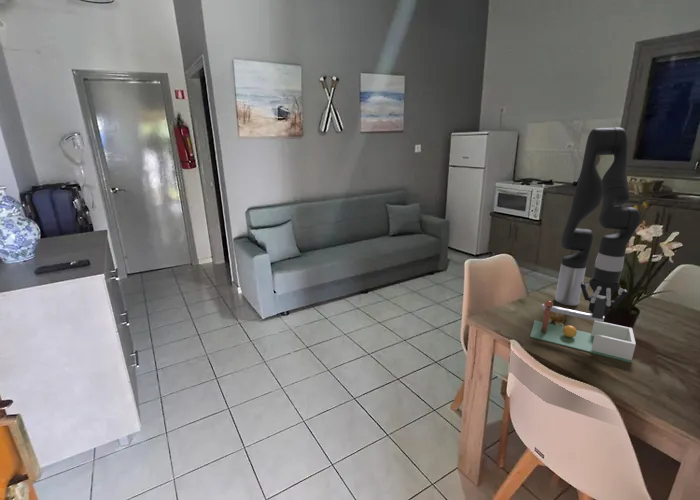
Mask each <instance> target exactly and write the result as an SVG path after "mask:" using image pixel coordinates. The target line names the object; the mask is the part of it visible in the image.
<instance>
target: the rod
mask: <svg viewBox="0 0 700 500" xmlns="http://www.w3.org/2000/svg"><path fill="white" fill-rule="evenodd" d="M606 303H607V300H606V296H604V295H598V296H597V298H596V300H595V305H594V310H593V313H588V312H583V311H579V310H575V309H569V308H565V307H560V306H557V305H556V306H555V305H554V302H553V301H551V300H545V302H544V303H542V304H541V310H544V314H543V317H544V319H543V318H542V319H543V321H542V322H543V325H542V330H541V332H545V333H546V331H547V326H548V323H549V322H548V320H549V315H550V313H551V312H556V313H561V314H565V316H571V317H576V318H581V319H584V320H590V321H593V322H594V321H598V322H605V321H604V320H605V316H604V311H605V307H606Z"/></svg>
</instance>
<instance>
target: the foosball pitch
mask: <svg viewBox="0 0 700 500" xmlns="http://www.w3.org/2000/svg"><path fill="white" fill-rule="evenodd" d="M542 325H543V321H539V320H535V319H534V321H533V326H532V328H531V332H530V335H529V337H530V339H531V338H532V339H534V340H535V339H536V340H539V341H544V342H547V343H552V344H556V345H559V346H564V347H566V348H567V347H568V348H571V349H576V350H579V351H582V352H587V353H591V354H594V355H599V356H602V357H606V358H611V359H615V360H618V361H622V362H626V363H630V364H632V363H633V361H632V360H633V356H634V353H635V349H636V345H637V344H636V339H635V335H634V331H633V327H630V326H629V327H628V326H623V325H619V324H614V323H610V322H605V321H603V322H598V321H594V320H593V325H592V330H591V332H588V331H587V332H586V331H584V330H583V331H582V330H577V329H576V330H577V334H576V336H574V337H572V338H569V337H566V336H565V335H564V334H563V328H564V326H563V327H562V325H558V326H557V325H556V324H552V323H549V322H548V326H547V331H546V333H545V332H541V330H542Z"/></svg>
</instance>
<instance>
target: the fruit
mask: <svg viewBox="0 0 700 500" xmlns="http://www.w3.org/2000/svg"><path fill="white" fill-rule="evenodd" d="M566 316H567V315H566V314H561V313H556V312H552V311H550V315H549V320H548V323H549V324H551V323H552V322H554V323H555V324H554V325H557V326H562V327H565V326H566V325H565V324H564V323H566V321H567V317H566ZM542 319H544V316H543V318H542Z"/></svg>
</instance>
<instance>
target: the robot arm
mask: <svg viewBox="0 0 700 500" xmlns="http://www.w3.org/2000/svg"><path fill="white" fill-rule="evenodd" d="M583 154H584V155H583V159H582V165H581V170H580V174H579V177H578V179H577V180H578V181H577V185H576V187H575V190H574V195H573V198H572V203H571V207H570V212H569V214H568V215H569V216H568V219H567V221H566V223H565V227H564V229H563V231H562V234H561V235H562V236H561V240H560V241H561V243H560V244H561V247H562V248H563V249H565V250H569V251H577V252H574V253H572V254H569V255H564V256H563V257H562V259H561V261H560V262H561V263H560V269H559V274H558V278H557V279H558V280H557V286H556V289H555V290H556V291H555V296H554V300H555V301H556V302H557V303H559V304H562V305H565V306H569V307H570V306H572V307H573V306H579V304H580V299H581V294H582V295H583V298H584V301H588V302H589V303H588V304H589V305H588V311H589V312H590V314H592V313H593V310H594V305H595V300H596V298H597V296H598V295H601V296H606V300H607V303H606V307H605V311H604V315H603V316H604V317H605V316H606V315H609V313H610V309H611V307H612V306H614V307H617V306H618V305H619V304H620V303H621V302H622V301H623V300H624V299H625V298H626V297H627V296H628V290H627V289H626V288H622V287H621V286H620V279H621V275H622V273H623V269H624V263H625V256H626V252H627V247H628V244H629V242H630V240H631V238H632V237H633V234H634V233H635V232H636V230H637V228H638V227H639V225H640V223H641V219H642V215H641V212H640V211H639V209H637V208H636V207H634V206H633V207H632V206H631V207H629V206H627V207H625V206H622V205H623V204H626V203H628V202H629V200H630V198H631V197H630V189H629V183H628V177H627V176H628V175H627V166H628V134H627V130H625V128H623V127H599V128H598V127H596V128H593V129H591V130H590V132H589V134H588V136H587V139H586V144H585V148H584V153H583ZM597 156H613V158H614V159H613V162H612V163H611V165H610V167H609V168H608V169H607V170H606V172H605V173H604V175H603V177H601V176H600V174H599V172H598V170H597V169H598V168H597V166H596V159H597V158H596V157H597ZM601 202H602V204H601ZM600 205H601V210H600V214H599V216H598V217H599V218H598V222H599V224H600V226H601V227H603V228H604V229H611V230H618V231H617V232H615V233H612V234H606V235H603V236H601V239H600V243H599V247H598V253H597V256H596V259H595V262H594V267H593V272H592V277H591V279H590V280H589V281H588V282H587V281H586V282H584V279H585V275H586V269H587V265H588V261H589V257H590V252H591V249H592V246H593V243H594V232H593V230H591V229H589V228H579V227H578V226H579V224H580V223H581V222H583V220H584V219H585V218H586V217H588V216H589V215H590V214H592V213H593V212H594V211H595V210H596V209H597V208H598V207H599V206H600ZM577 227H578V228H577ZM589 286H590V288H591V289H592V291H593V292H592V294H591V296H590V295H589V293H588V289H589ZM616 292H617V293H618V295H617V296H616V297H615V298H614V299H613V300H612V295H614V294H615V293H616Z"/></svg>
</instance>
